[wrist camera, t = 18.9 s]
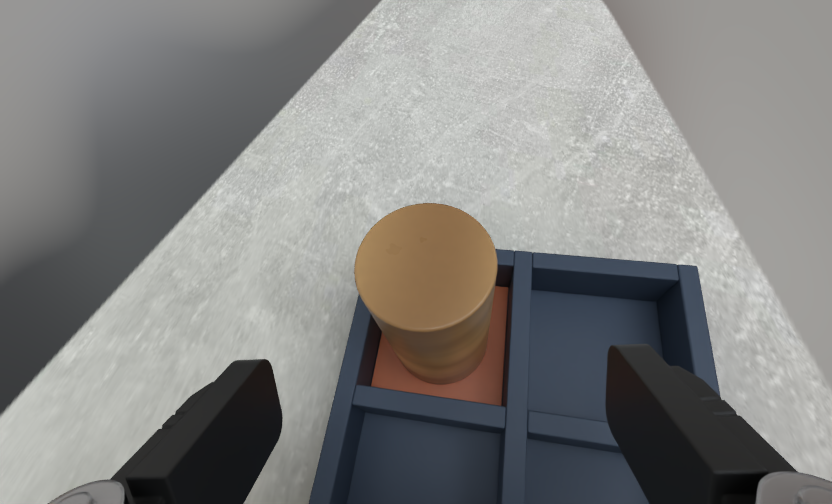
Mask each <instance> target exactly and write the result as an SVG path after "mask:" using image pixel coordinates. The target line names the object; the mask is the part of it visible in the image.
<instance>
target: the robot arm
mask: <svg viewBox="0 0 832 504" xmlns="http://www.w3.org/2000/svg"><path fill="white" fill-rule="evenodd" d="M605 408H606V416H607V421H608V425H609V428H610V431H611V433H612V435H613V437H614V439H615V441H616V443H617V444H618V446H619V448H620V450H621V452H622V454H623V456H624V457H625V459H626V461H627V463H628V465H629V467H630V469H631V470H632V472H633V474H634V476H635V478H636V480H637V482H638V483H639V485H640V487H641V489H642V491H643V493H644V494H645V496H646V498H647V500H648V502H649V504H832V482H830V481H828V480H825V479H823V478H819V477H816V476H813V475H809V474H804V473H798V472H797V471H796V470H795V469H794V468H793V467H792V466H791V465H790V464H789V463H788V462H787V461H786V460H785V459H784V458H783V457H782V456H781V455H780V454H779V453H778V452H777V451H776V450H775V449H774V448H773V447H772V446H770V445H769V444H768V443H767V442H766V441H765V440H764V439H763V438H762V437H761V436H760V435H759V434H758V433H757V432H756V431H755V430H754V429H753V428H752V427H751V426H750V425H749V424H748V423H747V422H746V421H745V420H744V419H743V418H742V417H741V416H737V415H736V411H735V410H734V409H733V408H732V407H731V406H730V405H729V404H728V403H726V402H725V401H724V400H721V397H720V396H719V395H718V394H717V393H716V392H715V391H714V390H713V389H712V388H711V387H710V386H709V385H708V384H707V383H706V382H705V381H704V380H703V379H701V378H699V377H698V376H696V375H694V374H692V373H690V372H689V371H687V370H685V369H683V368H681V367H680V366H669V365H668V364H667V363H666V362H665V361H664V360H663V359H662V357H661V356H660V355H659V354H658V353H657V352H656V351H655V350H654V349H653V348H652V347H651V346H650V345H648V344H629V345H611V346H610V348H609V350H608V356H607V378H606V400H605ZM281 429H282V411H281V406H280V401H279V397H278V392H277V388H276V383H275V379H274V374H273V370H272V366H271V364H270V362H269V361H268V360H266V359H258V360H237V361H234V362H232V363H231V364H230V365H229V366H228V367H227V369H226V370H225V371H224V372H223V373H222V374H221V375H220V376H219V377H218V378H217V379H216V380H215V381H214V382H212V383H210V384H208V385H207V386H205V387H204V388H202V389H201V390H199V391H198V392H196V393H195V394H193V395H192V396H190V397H189V398H188V399H187V401H186V402H185V403H184V404H183V405H182V406H181V407H180V408H179V409H178V410H177V411H176V414H175V415H172V416H171V417H170V418H169V419H168V420H167V421H166V422H165V423H164V424H163V425H162V429H158V430H157V431H156V432H155V434H154V435H153V436H152V437H151V438H150V439H149V440H148V441H147V442H146V443H145V444H144V445H143V446H142V447H141V448H140V449H139V450H138V451H137V452H136V453H135V454H134V455H133V456H132V457H131V458H130V459H129V460H128V461H127V462H126V463H125V464H124V465H123V467H122V468H121V469H120V470H119V471H118V472H117V473H116V474H115V475H114V476H113V477H112V478H111V479H110V480H99V481H94V482H91V483H87V484H84V485H82V486H79V487H77V488H74V489H72V490H70V491H68V492H66V493H64V494H62V495H61V496H59V497H57V498H56V499H54V500H52V501H51V502H50V503H48V504H243V503H244V502H245V500H246V498H247V496H248V494H249V492H250V491H251V489H252V487H253V485H254V483H255V482H256V480H257V478H258V476H259V474H260V472H261V471H262V469H263V467H264V465H265V463H266V461H267V460H268V458H269V456H270V454H271V452H272V451H273V449H274V447H275V445H276V443H277V441H278V439H279V437H280V433H281Z"/></svg>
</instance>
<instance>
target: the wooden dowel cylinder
mask: <svg viewBox="0 0 832 504" xmlns="http://www.w3.org/2000/svg"><path fill="white" fill-rule="evenodd" d="M354 274H355V282H356V286H357V290H358V292H359V295H360V297H361V299H362V300H363V302H364V304H365V305H366V307H367V308H368V310H369V312H370V313H371V315H372V316H373V318H374V320H375V321H376V323H377V324H378V326H379V328H380V329H381V331H382V332H383V334H384V336H385V337H386V339H387V340H388V342H389V343H390V345H391V347H392V348H393V350H394V351H395V353H396V355H397V356H398V358H399V359H400V361H401V363H402V364H403V366H404V367H405V368H406V369H407V370H408V371H409V372H410V373H411V374H412V375H413V376H415V377H416V378H418V379H420V380H422V381H425V382H427V383H432V384H440V385H441V384H450V383H454V382H457V381H460V380H462V379H464V378H466V377H467V376H469V375H470V374H471V373H472V372H473V371H474V370H475V369H476V368H477V367H478V366H479V364H480V363H481V361H482V359H483V357H484V355H485V352H486V348H487V341H488V334H489V327H490V320H491V313H492V305H493V298H494V291H495V284H496V276H497V254H496V250H495V247H494V244H493V242H492V240H491V237H490V236H489V234H488V233H487V231H486V230H485V229H484V227H483V226H482V225H481V224H480V223H479V222H478V221H477V220H476V219H474V218H473V217H472V216H470V215H469V214H467V213H466V212H464V211H462V210H460V209H457V208H454V207H452V206H448V205H443V204H436V203H423V204H415V205H410V206H406V207H403V208H400V209H398V210H396V211H394V212H392V213H390V214H388V215H387V216H385V217H384V218H382V219H381V220H380V221H378V222H377V223H376V224H375V225H374V226H373V227H372V228H371V229H370V231H369V232H368V233H367V234H366V236H365V238H364V239H363V241H362V243H361V245H360V247H359V249H358V253H357V256H356V260H355V270H354Z"/></svg>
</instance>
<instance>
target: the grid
mask: <svg viewBox="0 0 832 504" xmlns="http://www.w3.org/2000/svg"><path fill="white" fill-rule="evenodd" d="M495 250H496V254H497V276H496V284H495V291H494V298H493V305H492V313H491V320H490V327H489V334H488V341H487V348H486V352H485V355H484V357H483V359H482V361H481V363H480V364H479V366H478V367H477V368H476V369H475V370H474V371H473V372H472V373H471V374H470V375H469V376H467V377H466V378H464V379H462V380H460V381H457V382H454V383H450V384H441V385H440V384H432V383H427V382H425V381H422V380H420V379H418V378H416V377H415V376H413V375H412V374H411V373H410V372H409V371H408V370H407V369H406V368H405V367H404V366H403V364H402V363H401V361H400V359H399V358H398V356H397V355H396V353H395V351H394V350H393V348H392V347H391V345H390V343H389V342H388V340H387V339H386V337H385V336H384V334H383V332H382V331H381V329H380V328H379V326H378V324H377V323H376V321H375V320H374V318H373V316H372V315H371V313H370V312H369V310H368V308H367V307H366V305H365V304H364V302H363V300H362V299H361V297H360V295H359V296H358V300H357V304H356V308H355V313H354V317H353V321H352V325H351V329H350V333H349V338H348V342H347V346H346V350H345V354H344V359H343V363H342V367H341V371H340V375H339V379H338V384H337V388H336V392H335V396H334V400H333V404H332V409H331V413H330V417H329V421H328V425H327V429H326V434H325V438H324V442H323V446H322V450H321V455H320V459H319V463H318V467H317V471H316V475H315V480H314V484H313V488H312V492H311V496H310V500H309V504H649V502H648V500H647V498H646V496H645V494H644V493H643V491H642V489H641V487H640V485H639V483H638V482H637V480H636V478H635V476H634V474H633V472H632V470H631V469H630V467H629V465H628V463H627V461H626V459H625V457H624V456H623V454H622V452H621V450H620V448H619V446H618V444H617V443H616V441H615V439H614V437H613V435H612V433H611V431H610V428H609V425H608V421H607V416H606V408H605V400H606V378H607V356H608V350H609V348H610V346H611V345H629V344H648V345H650V346H651V347H652V348H653V349H654V350H655V351H656V352H657V353H658V354H659V355H660V356H661V357H662V359H663V360H664V361H665V362H666V363H667V364H668V365H669V366H680V367H681V368H683V369H685V370H687V371H689V372H690V373H692V374H694V375H696V376H698V377H699V378H701V379H703V380H704V381H705V382H706V383H707V384H708V385H709V386H710V387H711V388H712V389H713V390H714V391H715V392H716V393H717V394H718V395H719V396H720V392H719V386H718V381H717V375H716V369H715V364H714V358H713V353H712V347H711V341H710V336H709V330H708V324H707V319H706V313H705V307H704V302H703V296H702V290H701V285H700V279H699V274H698V268H697V266H690V265H676V264H668V263H656V262H644V261H632V260H619V259H607V258H595V257H583V256H571V255H559V254H547V253H535V252H534V253H532V252H525V251H515V252H514V251H512V250H500V249H495Z"/></svg>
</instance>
